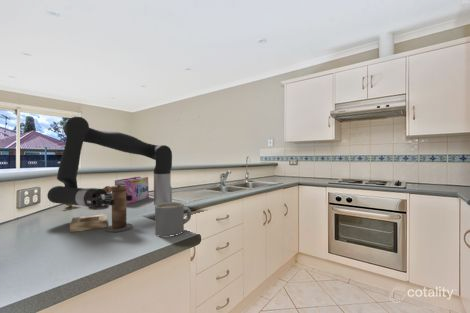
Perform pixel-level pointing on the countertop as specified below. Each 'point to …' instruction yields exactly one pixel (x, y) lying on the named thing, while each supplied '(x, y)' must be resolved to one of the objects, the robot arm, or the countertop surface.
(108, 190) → the lion figurine
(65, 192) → the robot arm
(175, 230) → the coffee mug
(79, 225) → the holder
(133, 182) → the gum box
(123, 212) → the pepper mill
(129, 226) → the coaster
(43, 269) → the countertop surface
